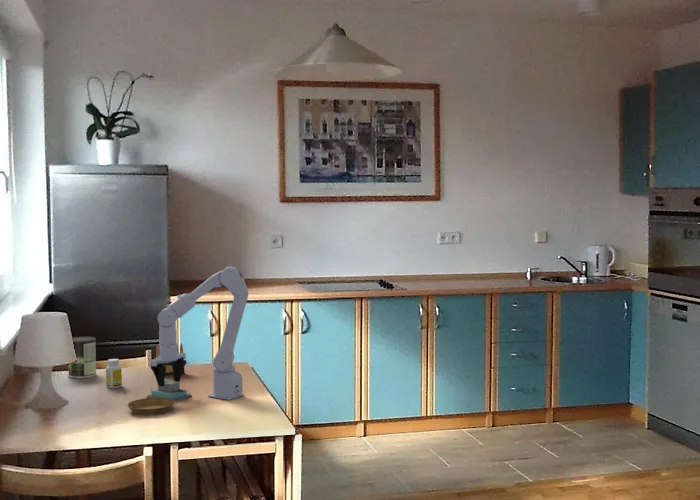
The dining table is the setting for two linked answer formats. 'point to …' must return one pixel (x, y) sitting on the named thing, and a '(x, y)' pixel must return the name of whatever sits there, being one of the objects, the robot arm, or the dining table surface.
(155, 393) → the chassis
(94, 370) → the coffee can
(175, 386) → the block
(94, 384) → the dining table surface
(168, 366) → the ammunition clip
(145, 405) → the plant saucer
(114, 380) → the supplement bottle
